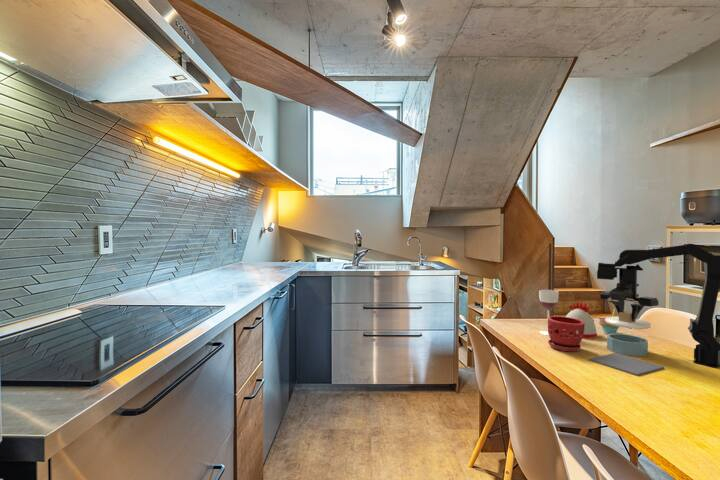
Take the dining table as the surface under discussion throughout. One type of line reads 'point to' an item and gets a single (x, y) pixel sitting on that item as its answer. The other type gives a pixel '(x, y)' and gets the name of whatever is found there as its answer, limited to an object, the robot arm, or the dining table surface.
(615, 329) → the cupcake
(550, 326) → the plant pot
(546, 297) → the wineglass
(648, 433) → the dining table surface
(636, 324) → the lid
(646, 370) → the mat
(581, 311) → the kitchen timer
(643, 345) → the bowl
